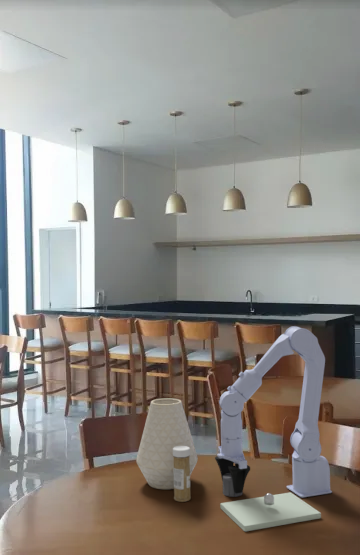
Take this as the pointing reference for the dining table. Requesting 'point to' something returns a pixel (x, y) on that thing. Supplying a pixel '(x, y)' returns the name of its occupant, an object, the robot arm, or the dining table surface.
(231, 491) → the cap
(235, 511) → the post board
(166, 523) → the dining table surface
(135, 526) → the dining table surface
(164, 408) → the vase
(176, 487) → the sprinkles bottle
